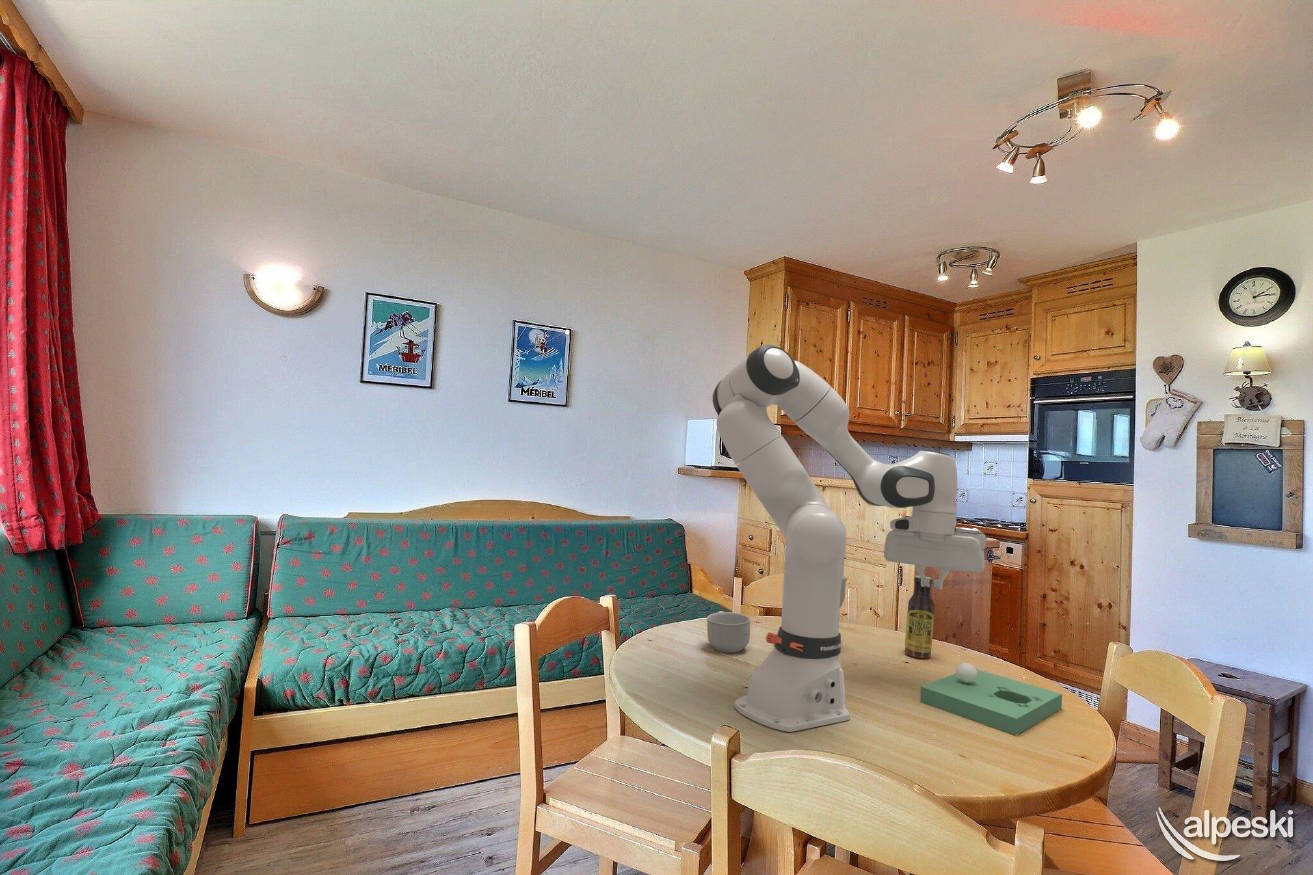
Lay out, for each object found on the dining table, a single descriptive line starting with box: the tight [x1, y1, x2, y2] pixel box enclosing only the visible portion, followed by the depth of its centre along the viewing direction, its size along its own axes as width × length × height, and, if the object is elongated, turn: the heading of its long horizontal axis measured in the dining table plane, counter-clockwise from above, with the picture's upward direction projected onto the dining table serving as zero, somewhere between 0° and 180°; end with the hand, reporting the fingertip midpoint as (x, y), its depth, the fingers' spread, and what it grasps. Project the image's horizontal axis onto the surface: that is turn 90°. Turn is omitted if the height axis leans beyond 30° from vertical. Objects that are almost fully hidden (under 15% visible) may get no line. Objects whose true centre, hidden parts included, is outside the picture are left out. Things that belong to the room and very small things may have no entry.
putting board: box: [919, 668, 1063, 736], centre depth 125 cm, size 22×18×3 cm
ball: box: [955, 662, 977, 683], centre depth 129 cm, size 4×4×4 cm
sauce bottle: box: [904, 575, 935, 660], centre depth 156 cm, size 6×6×20 cm
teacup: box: [706, 610, 751, 653], centre depth 155 cm, size 14×11×8 cm
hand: (931, 587), depth 135 cm, fingers closed
